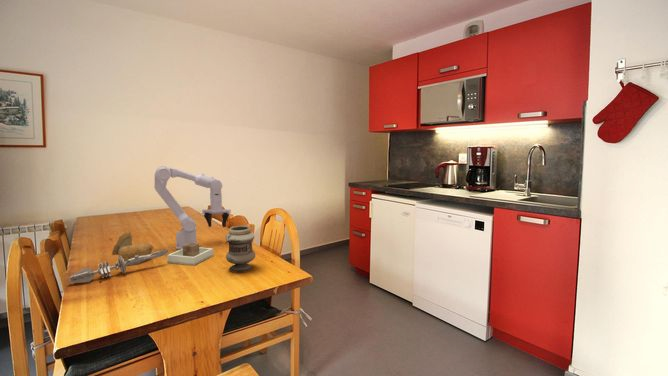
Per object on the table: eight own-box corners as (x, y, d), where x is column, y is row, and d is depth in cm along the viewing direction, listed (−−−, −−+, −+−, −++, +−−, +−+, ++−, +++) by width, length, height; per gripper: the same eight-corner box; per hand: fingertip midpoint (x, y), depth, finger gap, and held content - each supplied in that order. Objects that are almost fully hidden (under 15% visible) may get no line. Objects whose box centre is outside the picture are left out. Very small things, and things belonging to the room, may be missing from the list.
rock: (113, 252, 154) (135, 245, 161) (107, 237, 156) (130, 231, 163) (112, 260, 162) (134, 253, 168) (107, 245, 164) (129, 239, 170)
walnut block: (183, 258, 149) (182, 245, 149) (190, 255, 154) (189, 242, 154) (192, 259, 148) (191, 246, 148) (199, 256, 153) (198, 243, 152)
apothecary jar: (225, 275, 132) (224, 231, 130) (227, 265, 143) (225, 225, 141) (256, 272, 135) (255, 229, 133) (255, 262, 146) (254, 223, 144)
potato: (157, 259, 150) (156, 242, 149) (123, 268, 140) (121, 249, 139) (148, 255, 157) (147, 239, 156) (115, 263, 146) (113, 245, 145)
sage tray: (167, 262, 146) (167, 255, 146) (188, 253, 160) (188, 246, 159) (194, 265, 143) (193, 257, 142) (213, 255, 156) (213, 248, 156)
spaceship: (171, 249, 140) (164, 239, 145) (68, 278, 117) (64, 265, 122) (171, 263, 144) (165, 253, 149) (72, 294, 121) (68, 281, 125)
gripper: (199, 203, 169) (200, 228, 171) (227, 203, 169) (228, 228, 171) (204, 200, 176) (205, 225, 178) (231, 200, 176) (232, 225, 178)
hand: (217, 226), depth 175 cm, fingers open, 7 cm apart
